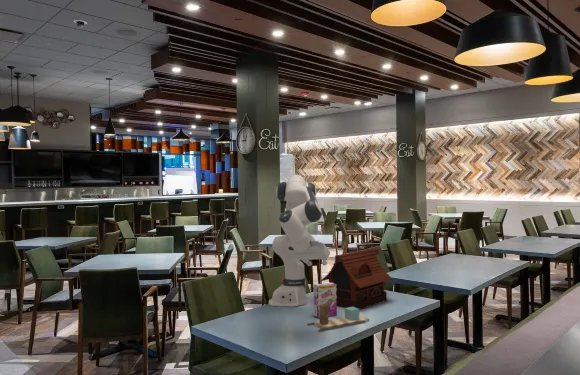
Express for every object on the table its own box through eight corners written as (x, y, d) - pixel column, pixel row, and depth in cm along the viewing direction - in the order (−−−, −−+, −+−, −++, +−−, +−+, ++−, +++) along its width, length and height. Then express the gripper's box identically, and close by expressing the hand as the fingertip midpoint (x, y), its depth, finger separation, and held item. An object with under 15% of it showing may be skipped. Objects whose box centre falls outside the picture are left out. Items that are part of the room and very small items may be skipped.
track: (319, 331, 207) (319, 330, 207) (307, 325, 217) (307, 323, 217) (365, 322, 219) (365, 321, 219) (352, 317, 229) (352, 315, 229)
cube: (350, 320, 219) (350, 310, 219) (344, 318, 223) (344, 308, 223) (359, 319, 221) (358, 309, 221) (353, 316, 225) (353, 306, 225)
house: (358, 313, 235) (357, 257, 235) (319, 303, 256) (318, 252, 256) (397, 300, 259) (396, 250, 259) (358, 292, 280) (357, 246, 280)
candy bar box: (317, 318, 227) (317, 286, 227) (313, 316, 232) (312, 284, 232) (337, 316, 231) (336, 284, 231) (333, 313, 236) (332, 282, 236)
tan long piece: (323, 330, 209) (323, 308, 209) (313, 324, 217) (313, 303, 217) (369, 321, 221) (368, 300, 221) (358, 316, 229) (357, 296, 229)
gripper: (323, 235, 199) (338, 259, 204) (290, 239, 213) (305, 260, 218) (316, 245, 195) (332, 269, 200) (284, 248, 209) (298, 270, 214)
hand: (317, 264), depth 209 cm, fingers open, 8 cm apart
